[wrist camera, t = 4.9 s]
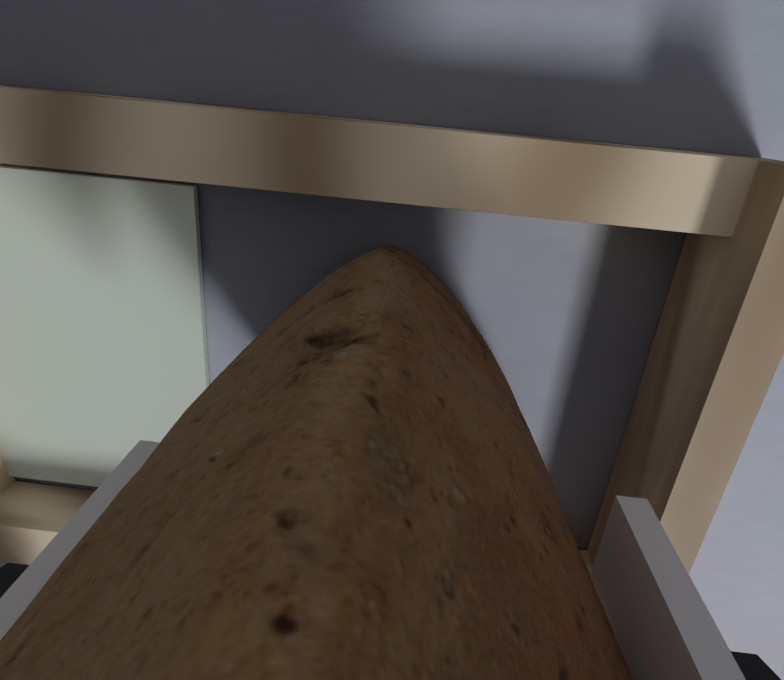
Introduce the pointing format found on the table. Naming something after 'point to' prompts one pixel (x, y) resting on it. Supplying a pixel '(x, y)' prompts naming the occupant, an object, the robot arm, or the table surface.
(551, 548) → the brown rough stone
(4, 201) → the front mat
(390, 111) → the table surface
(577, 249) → the table surface
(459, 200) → the frame
